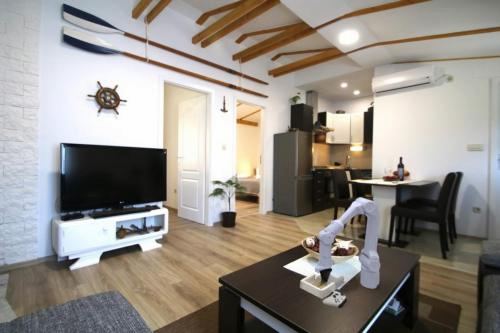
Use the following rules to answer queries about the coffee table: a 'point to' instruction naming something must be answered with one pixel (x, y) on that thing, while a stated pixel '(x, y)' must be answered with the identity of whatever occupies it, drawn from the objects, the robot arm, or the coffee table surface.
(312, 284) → the chip
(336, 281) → the slot block
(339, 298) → the gaming controller
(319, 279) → the chip
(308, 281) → the tray
